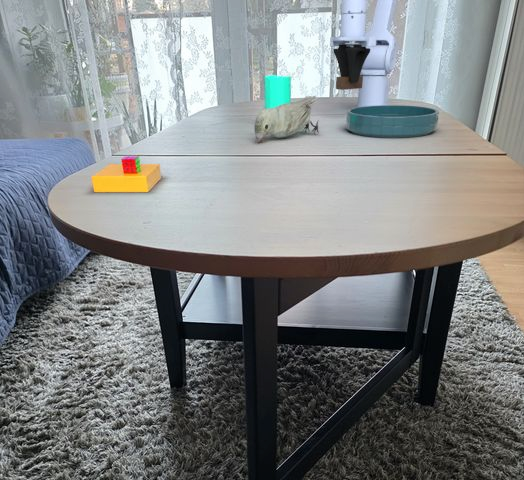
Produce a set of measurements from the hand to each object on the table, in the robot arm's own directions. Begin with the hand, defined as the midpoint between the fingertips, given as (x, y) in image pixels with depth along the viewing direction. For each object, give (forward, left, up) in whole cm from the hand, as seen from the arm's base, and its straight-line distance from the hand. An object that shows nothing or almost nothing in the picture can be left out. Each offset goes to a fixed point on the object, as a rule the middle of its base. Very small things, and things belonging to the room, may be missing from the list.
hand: (349, 82), depth 121 cm
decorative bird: (+28, -3, -9) cm, 29 cm away
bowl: (+11, +14, -8) cm, 20 cm away
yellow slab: (+72, -7, -9) cm, 73 cm away
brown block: (0, 0, -1) cm, 1 cm away
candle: (+15, -12, -9) cm, 21 cm away
